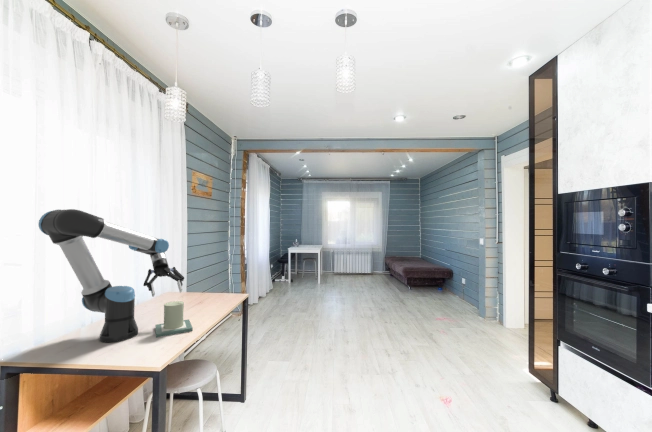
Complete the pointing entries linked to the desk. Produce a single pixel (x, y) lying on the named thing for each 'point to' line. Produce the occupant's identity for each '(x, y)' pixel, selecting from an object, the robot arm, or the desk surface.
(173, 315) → the can
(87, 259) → the robot arm
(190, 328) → the board
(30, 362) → the desk surface
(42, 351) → the desk surface
